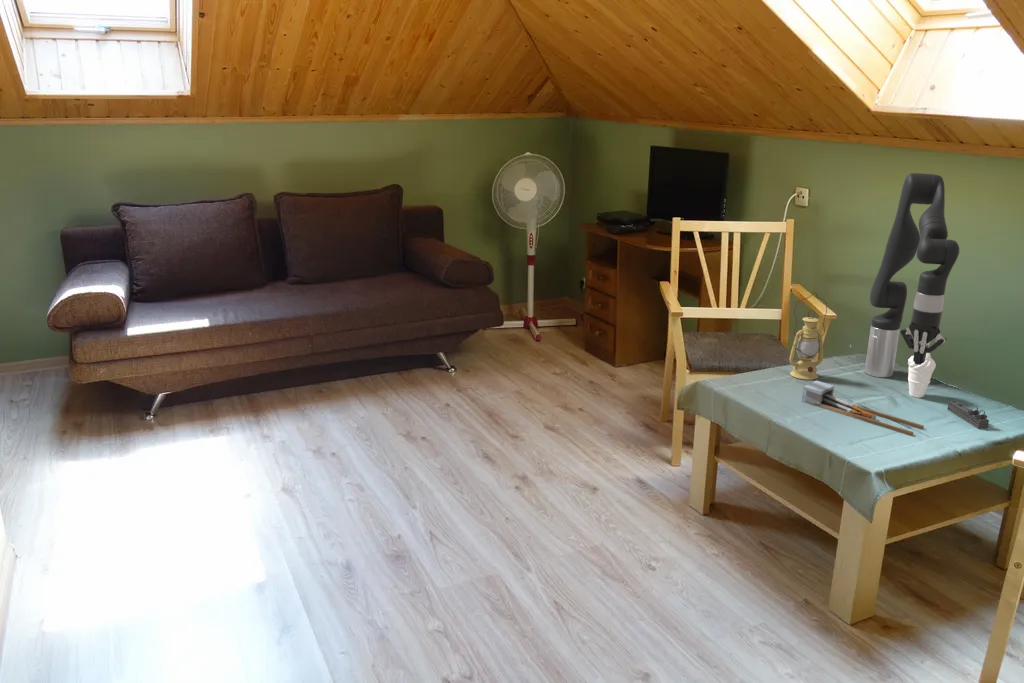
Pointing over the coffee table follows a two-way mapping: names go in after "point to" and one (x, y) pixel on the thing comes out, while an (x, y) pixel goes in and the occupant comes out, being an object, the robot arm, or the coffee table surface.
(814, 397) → the holder
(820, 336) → the lantern
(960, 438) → the coffee table surface
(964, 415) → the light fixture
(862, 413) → the chisel
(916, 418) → the coffee table surface
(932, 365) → the soft serve ice cream cone
